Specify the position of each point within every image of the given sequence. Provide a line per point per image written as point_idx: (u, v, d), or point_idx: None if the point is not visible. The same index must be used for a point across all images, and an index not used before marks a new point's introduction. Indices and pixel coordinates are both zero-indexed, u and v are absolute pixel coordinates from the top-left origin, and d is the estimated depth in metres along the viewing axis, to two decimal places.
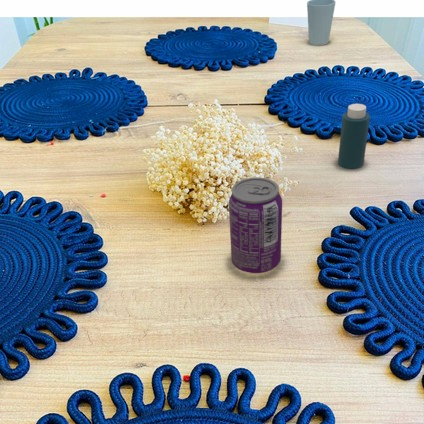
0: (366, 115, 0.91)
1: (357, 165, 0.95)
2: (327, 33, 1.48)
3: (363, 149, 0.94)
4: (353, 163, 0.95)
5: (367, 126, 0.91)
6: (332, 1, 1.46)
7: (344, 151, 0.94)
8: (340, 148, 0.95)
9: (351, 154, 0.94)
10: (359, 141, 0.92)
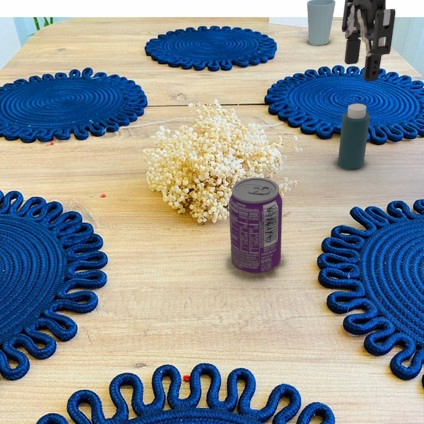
0: (366, 115, 0.91)
1: (357, 165, 0.95)
2: (327, 33, 1.48)
3: (363, 149, 0.94)
4: (353, 163, 0.95)
5: (367, 126, 0.91)
6: (332, 1, 1.46)
7: (344, 151, 0.94)
8: (340, 148, 0.95)
9: (351, 154, 0.94)
10: (359, 141, 0.92)
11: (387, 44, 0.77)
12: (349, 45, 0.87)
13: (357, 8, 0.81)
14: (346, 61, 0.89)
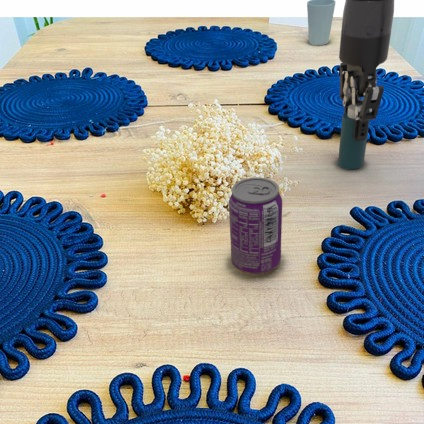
0: None
1: (357, 165, 0.95)
2: (327, 33, 1.48)
3: (363, 149, 0.94)
4: (353, 163, 0.95)
5: None
6: (332, 1, 1.46)
7: (344, 151, 0.94)
8: (340, 148, 0.95)
9: (351, 154, 0.94)
10: (359, 141, 0.92)
11: (373, 112, 0.86)
12: None
13: (350, 74, 0.87)
14: None
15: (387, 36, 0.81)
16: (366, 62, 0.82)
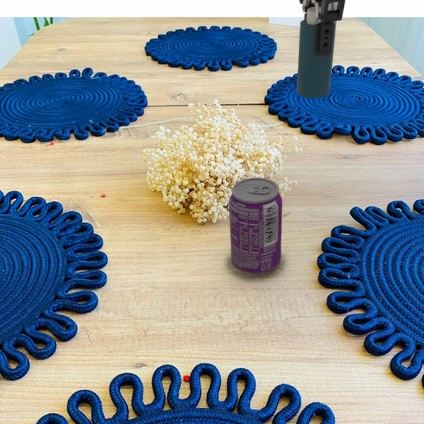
0: None
1: (321, 92, 0.73)
2: None
3: (328, 69, 0.71)
4: (316, 90, 0.72)
5: None
6: None
7: (303, 73, 0.72)
8: (298, 69, 0.72)
9: (312, 76, 0.71)
10: (321, 57, 0.69)
11: (339, 9, 0.63)
12: None
13: None
14: None
15: None
16: None
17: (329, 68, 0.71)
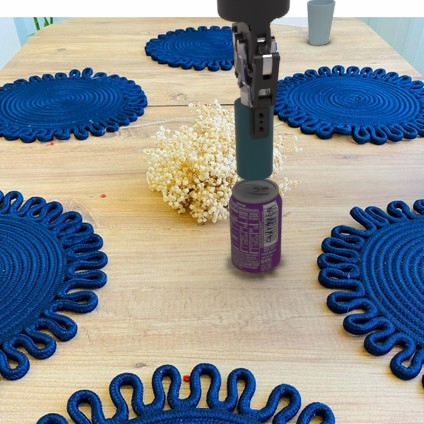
0: None
1: (261, 174, 0.65)
2: (327, 33, 1.48)
3: (268, 151, 0.64)
4: (255, 172, 0.65)
5: (270, 117, 0.61)
6: (332, 1, 1.46)
7: (240, 154, 0.64)
8: (236, 150, 0.65)
9: (250, 158, 0.64)
10: (259, 139, 0.62)
11: (271, 95, 0.56)
12: None
13: (239, 37, 0.57)
14: None
15: None
16: (252, 15, 0.52)
17: (269, 150, 0.64)
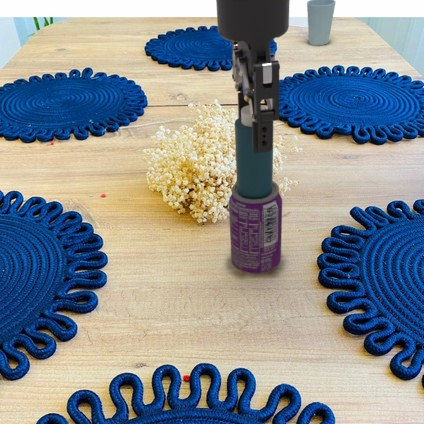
0: None
1: (261, 192, 0.67)
2: (327, 33, 1.48)
3: (267, 170, 0.65)
4: (256, 190, 0.67)
5: None
6: (332, 1, 1.46)
7: (241, 173, 0.66)
8: (236, 168, 0.67)
9: (250, 177, 0.65)
10: (259, 158, 0.64)
11: (274, 108, 0.55)
12: (241, 100, 0.65)
13: (239, 55, 0.59)
14: None
15: None
16: (252, 35, 0.53)
17: (269, 168, 0.65)
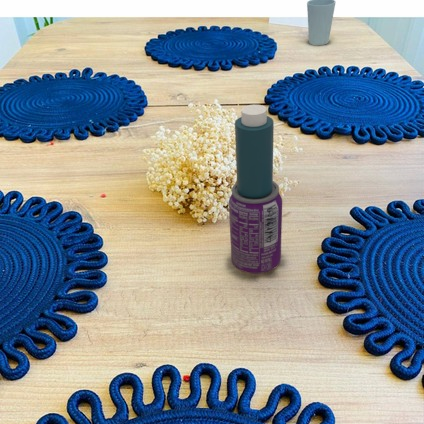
0: (268, 121, 0.63)
1: (261, 192, 0.67)
2: (327, 33, 1.48)
3: (268, 170, 0.65)
4: (256, 190, 0.67)
5: (270, 137, 0.63)
6: (332, 1, 1.46)
7: (241, 173, 0.66)
8: (237, 168, 0.67)
9: (250, 177, 0.65)
10: (259, 158, 0.64)
11: None
12: None
13: None
14: None
15: None
16: None
17: (269, 168, 0.65)
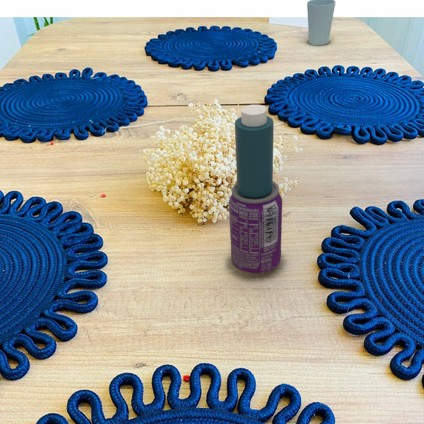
0: (268, 121, 0.63)
1: (261, 192, 0.67)
2: (327, 33, 1.48)
3: (268, 170, 0.65)
4: (256, 190, 0.67)
5: (270, 137, 0.63)
6: (332, 1, 1.46)
7: (241, 173, 0.66)
8: (237, 168, 0.67)
9: (250, 177, 0.65)
10: (259, 158, 0.64)
11: None
12: None
13: None
14: None
15: None
16: None
17: (269, 168, 0.65)
